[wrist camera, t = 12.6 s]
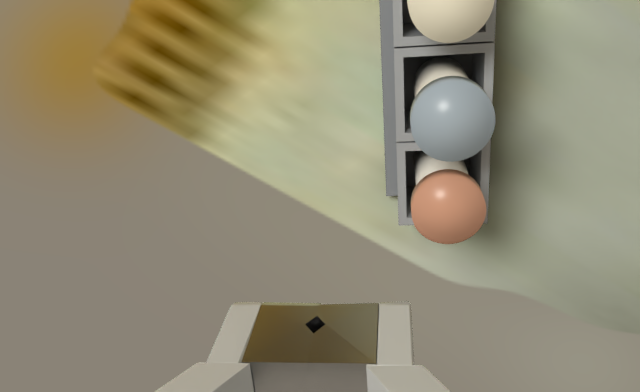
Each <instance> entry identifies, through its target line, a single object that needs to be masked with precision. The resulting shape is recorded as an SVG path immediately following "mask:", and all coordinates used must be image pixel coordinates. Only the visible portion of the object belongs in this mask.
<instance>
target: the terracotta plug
mask: <svg viewBox="0 0 640 392" xmlns="http://www.w3.org/2000/svg"><path fill="white" fill-rule="evenodd" d="M414 171H415V181H416V186H415V188H414V190H413V192H412V196H411V215H412V220H413V223H414V225H415V227H416V229H417V230H418V231H419V232H420V233H421V234H422V235H423V236H424V237H426V238H427V239H429V240H431V241H434V242H437V243H442V244H453V243H458V242H462V241H464V240H466V239H468V238H470V237H471V236H473V235H474V234H475V233H476V232H477V231H478V230H479V229H480V228H481V226H482V224H483V222H484V220H485V217H486V202H485V199H484V196H483V194H482V191H481V188H480V186H479V185H478V183H477V182H476V181H475V180H474V179H473V178H472V177H471V176H470V175H469V174H468V171H467V168H466V165H465V162H464V160H460V161H453V162H448V161H441V160H437V159H435V158H432V157H430V156H429V155H427V154H426V153H424V152H423V151H415V154H414Z"/></svg>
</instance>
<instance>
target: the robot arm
mask: <svg viewBox="0 0 640 392" xmlns="http://www.w3.org/2000/svg"><path fill="white" fill-rule="evenodd" d="M155 392H450V390H448V388H446V387H445V386H444V385H443V384H442V383H441V382H440V381H439V380H438V379H437V378H436V377H435V376H434V375H433V374H432V373H431V372H430V371H429V370H428V369H427V368H426V367H425V366H423V365H414V352H413V333H412V316H411V304H410V303H409V302H382V303H380V304H378V303H359V304H358V303H357V304H321V303H274V302H264V303H262V302H236V303H234V304H232V305H231V307H230V309H229V311H228V314H227V316H226V318H225V320H224V323H223V325H222V327H221V330H220V332H219V334H218V337H217V339H216V341H215V343H214V346H213V348H212V350H211V353H210V355H209V357H208V360H207V362H206V363H197V364H195V365H193V366H192V367H191V368H189V369H188V370H186V371H185V372H183V373H182V374H180V375H179V376H177V377H176V378H174V379H173V380H171V381H170V382H168V383H167V384H165V385H164V386H162V387H161V388H159V389H158V390H156V391H155Z"/></svg>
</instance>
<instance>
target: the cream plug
mask: <svg viewBox="0 0 640 392" xmlns="http://www.w3.org/2000/svg"><path fill="white" fill-rule="evenodd" d="M407 5H408V10H409V14H410V17H411V20H412V22H413V24H414V25H415V26H416V28H417V29H418V30H419V31H420V32H421V33H422V34H423V35H424V36H426V37H428V38H429V39H431V40H434V41H437V42H442V43H454V42H459V41H462V40H465V39H467V38H469V37H471V36H472V35H474V34H475V33H477V32H478V31H479V30H480V29H481V28H482V27H483V26H484V24H485V23H486V22H487V20H488V18H489V16H490V14H491V12H492V9H493V6H494V0H407Z"/></svg>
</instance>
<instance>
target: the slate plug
mask: <svg viewBox="0 0 640 392" xmlns="http://www.w3.org/2000/svg"><path fill="white" fill-rule="evenodd" d="M413 89H414V96H415V99H414V101H413V103H412V106H411V110H410V125H411V132H412V136H413V138H414V140H415V142H416V144H417V145H418V147H419V148H420V149H421V150H422V151H423V152H424V153H426V154H427V155H429V156H430V157H432V158H435V159H437V160H441V161H448V162H453V161H460V160H464V159H467V158H469V157H472V156H473V155H475V154H477V153H478V152H479V151H480V150H482V149H483V148H484V147H485V146H486V144H487V143H488V142H489V140H490V138H491V136H492V134H493V131H494V128H495V111H494V107H493V105H492V103H491V101H490V99H489V97H488V96H487V94H486V92H485V91H484V90H483V89H482V87H481V86H479V85H478V84H477V83H476V82H474V81H472V80H470V79H469V78H468V76H467V74H466V72H465V71H464V69H463V67H462V66H461V65H460V64H459V63H458V62H457V61H455V60H453V59H451V58H448V57H436V58H432V59H430V60H428V61H426V62H425V63H423V64H422V65H421V66H420V67H419V69H418V70H417V72H416V74H415V77H414V81H413Z"/></svg>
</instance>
